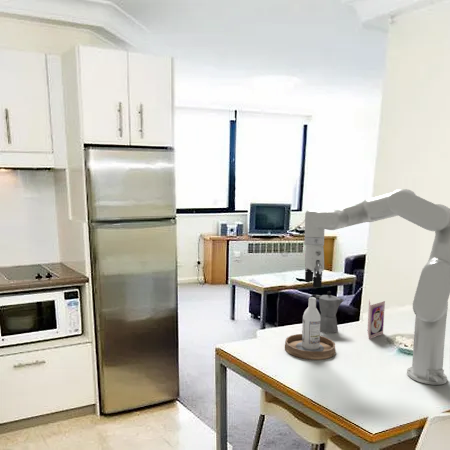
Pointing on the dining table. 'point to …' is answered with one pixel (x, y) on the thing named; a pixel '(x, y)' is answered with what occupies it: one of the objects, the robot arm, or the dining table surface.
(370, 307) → the greeting card
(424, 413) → the dining table surface
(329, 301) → the coffeepot
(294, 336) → the round tray
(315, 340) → the bath foam
